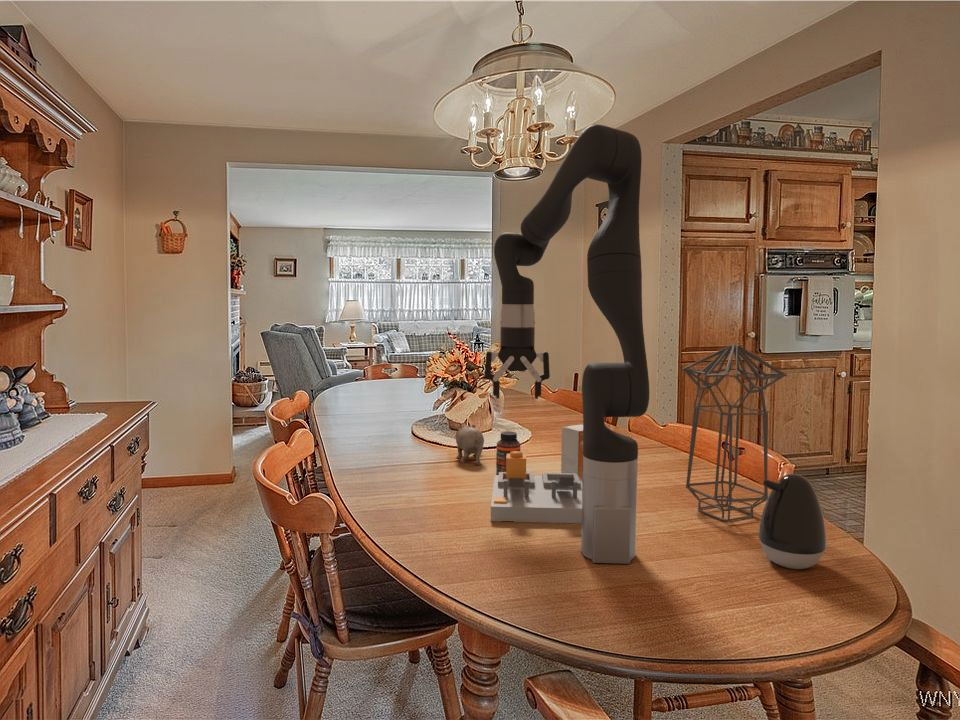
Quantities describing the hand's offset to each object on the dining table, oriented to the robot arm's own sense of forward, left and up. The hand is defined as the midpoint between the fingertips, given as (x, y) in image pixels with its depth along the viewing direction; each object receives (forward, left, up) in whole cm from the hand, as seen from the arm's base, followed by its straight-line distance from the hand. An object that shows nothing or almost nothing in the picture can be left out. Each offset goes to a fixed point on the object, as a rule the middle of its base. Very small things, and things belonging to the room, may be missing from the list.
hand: (516, 398), depth 143 cm
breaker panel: (-6, -5, -22) cm, 23 cm away
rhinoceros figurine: (+34, +13, -22) cm, 42 cm away
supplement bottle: (+15, +2, -22) cm, 27 cm away
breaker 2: (-10, -10, -16) cm, 22 cm away
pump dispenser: (-34, -46, -22) cm, 62 cm away
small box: (+15, -16, -22) cm, 31 cm away
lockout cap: (0, 0, -19) cm, 19 cm away
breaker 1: (-10, 0, -16) cm, 19 cm away
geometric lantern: (-8, -44, -22) cm, 50 cm away
